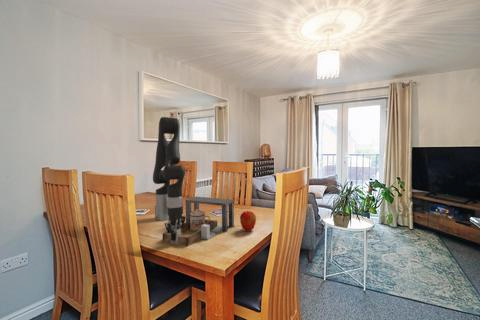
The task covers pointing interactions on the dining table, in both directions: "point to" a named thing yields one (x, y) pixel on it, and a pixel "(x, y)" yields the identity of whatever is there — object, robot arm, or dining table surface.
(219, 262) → the dining table surface
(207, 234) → the light grey block
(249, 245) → the dining table surface
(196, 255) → the dining table surface
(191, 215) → the teacup with lid
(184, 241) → the sled walnut
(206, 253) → the dining table surface
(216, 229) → the strip grey far
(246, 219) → the apple
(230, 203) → the shelf
